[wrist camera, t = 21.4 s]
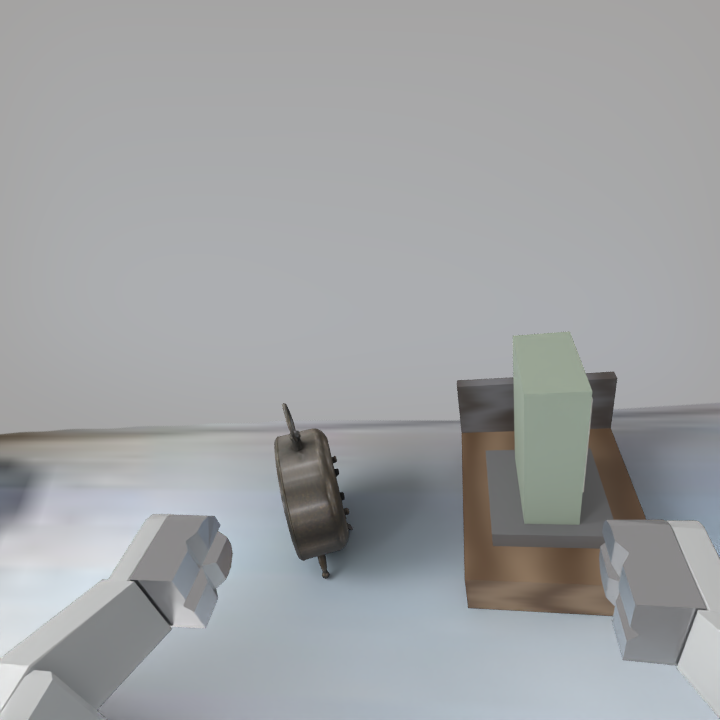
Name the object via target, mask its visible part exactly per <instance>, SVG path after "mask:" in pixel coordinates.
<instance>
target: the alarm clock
mask: <svg viewBox="0 0 720 720" xmlns="http://www.w3.org/2000/svg"><path fill="white" fill-rule="evenodd" d="M282 406H283V411H284V414H285V418H286V422H287V425H288V428H289V430H290V434H288V435H284V436H280V437H277V438H276V440H275V443H274V445H275V446H274V448H275V460H276V468H277V475H278V481H279V487H280V493H281V498H282V502H283V507H284V512H285V516H286V520H287V524H288V527H289V532H290V535H291V538H292V542H293V545H294V547H295V550H296V553H297V555H298V557H299V559H301V560H303V561H304V560H306V559H309V558H313V557H316V556H318V560H319V564H320V566H321V569H322V571H323V573H322V577H323V578H325V579H326V578H328V577H329V572H328V571H327V564H326V557H325V554H328V553H331V552H335V551H339V550H341V549H343V548H344V547H345V545H346V544H347V541H348V538H349V531H348V529H349V530H353V528H352V526H351V525H350V524H348V523H347V521H346V516H345V515H348V514H349V509H348V508H345V509H343V505H342V500H344V499H345V497H344V493H343V492H339V487H338V483H337V479H336V477H337V476H338V475H339V470H338V469H334V466H333V463H335V462H337V459H336V456H334V457H331V453H330V449H329V444H328V440H327V437H326V436H325V434H324V433H323V432H322V431H320V430H318V429H309V430H305V431H300V432H299V431H296V430H295V426H294V422H293V419H292V417H291V414H290V411H289V409H288V407H287V405H286V404H284V403H283V405H282Z"/></svg>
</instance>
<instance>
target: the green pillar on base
mask: <svg viewBox="0 0 720 720" xmlns="http://www.w3.org/2000/svg"><path fill="white" fill-rule="evenodd" d="M513 379H514V435H515V450H488V451H486V463H487V476H488V489H489V502H490V515H491V528H492V541H493V546H513V547H553V548H593V549H600V546H601V545H603V544H604V543H605V540H604V537H603V533H602V529H603V523H604V522H605V520H614V519H613V516H612V513H611V510H610V507H609V504H608V501H607V498H606V495H605V491H604V488H603V485H602V482H601V479H600V476H599V473H598V470H597V467H596V464H595V461H594V458H593V454H592V451H591V448H588V444H589V434H590V423H591V413H592V403H593V398H592V389H591V386H590V384H589V381H588V378H587V376H586V373H585V370H584V368H583V365H582V363H581V360H580V357H579V355H578V352H577V349H576V347H575V344H574V341H573V339H572V336H571V334H570V332H560V333H547V334H534V335H533V334H532V335H519V336H513Z"/></svg>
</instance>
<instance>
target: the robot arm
mask: <svg viewBox="0 0 720 720" xmlns="http://www.w3.org/2000/svg"><path fill="white" fill-rule="evenodd" d="M219 527H220V524H219V522H218V520H217V519H216V517H215V516H199V515H174V514H152V515H151V516H150V517H149V518H147V519H146V520H145V522H144V523H143V525H142V526H141V528H140V529H139V531H138V533H137V534H136V536H135V537H134V539H133V541H132V542H131V544H130V545H129V547H128V549H127V550H126V552H125V553H124V555H123V556H122V558H121V560H120V561H119V563H118V564H117V566H116V568H115V569H114V571H113V572H112V574H111V576H110V577H109V579H102V580H101V581H100V582H98V583H97V584H96V585H95V586H93V587H92V588H91V589H89V590H88V591H87V592H85V593H84V594H83V595H82V596H80V597H79V598H78V599H76V600H75V601H74V602H72V603H71V604H70V605H69V606H67V607H66V608H65V609H63V610H62V611H61V612H59V613H58V614H57V615H56V616H54V617H53V618H52V619H50V620H49V621H48V622H47V623H45V624H44V625H43V626H41V627H40V628H39V629H37V630H36V631H35V632H34V633H32V634H31V635H30V636H28V637H27V638H26V639H24V640H23V641H22V642H21V643H19V644H18V645H17V646H15V647H14V648H13V649H11V650H10V651H9V652H8V653H6V654H5V655H4V656H2V657H1V658H0V720H107V719H106V718H105V717H104V716H103V715H101V714H100V713H99V712H98V711H97V710H98V708H99V707H100V706H101V705H102V704H103V703H104V702H105V701H106V700H107V699H108V698H109V697H110V696H111V694H112V693H113V692H114V691H115V690H116V689H117V688H118V687H119V686H120V685H121V684H122V683H123V681H124V680H125V679H126V678H127V677H128V676H129V675H130V674H131V673H132V672H133V671H134V670H135V668H136V667H137V666H138V665H139V664H140V663H141V662H142V661H143V660H144V659H145V658H146V657H147V656H148V654H149V653H150V652H151V651H152V650H153V649H154V648H155V647H156V646H157V645H158V644H159V643H160V641H161V640H162V639H163V638H164V637H165V636H166V635H167V634H168V633H169V632H170V631H171V630H172V628H171V627H186V628H206V627H207V624H208V622H209V619H210V617H211V615H212V612H213V610H214V607H215V605H216V603H217V600H218V595H217V591H216V588H217V587H218V586H219V585H220V584H221V583H223V582H224V581H225V580H226V578H227V576H228V573H229V570H230V568H231V562H232V554H233V553H232V548H231V543H230V542H229V540H228V538H227V537H226V536H225V535H223V534H222V533H220V532H219V531H218V529H219ZM602 533H603V537H604V540H605V543H604V544H603V545H601V546H600V553H599V563H600V574H601V579H602V584H603V588H604V592H605V596H606V598H607V599H608V600H609V601H610V602H611V603H612V604H613V605H614V606H615V608H614V614H613V620H612V622H613V626H614V630H615V633H616V637H617V641H618V644H619V648H620V652H621V655H622V659H623V660H627V661H637V662H647V663H657V664H667V665H677V669H678V670H679V671H680V673H681V674H682V675H683V676H684V677H685V679H686V680H687V681H688V682H689V683H690V684H691V686H692V687H693V688H694V689H695V690H696V691H697V693H698V694H699V695H700V696H701V697H702V698H703V700H704V701H705V702H706V703H707V704H708V705H709V707H710V708H711V709H712V710H713V711H714V712H715V714H716V715H717V716H718V717H719V718H720V557H719V555H718V553H717V552H716V550H715V548H714V546H713V544H712V542H711V540H710V538H709V536H708V534H707V532H706V530H705V528H704V526H703V525H702V524H701V523H700V522H699V521H694V520H686V521H664V520H605V522H604V523H603V529H602Z"/></svg>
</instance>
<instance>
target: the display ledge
mask: <svg viewBox="0 0 720 720" xmlns="http://www.w3.org/2000/svg"><path fill="white" fill-rule="evenodd" d="M586 376H587V378H588V381H589V384H590V386H591V389H592V398H593V403H592V413H591V423H590V434H589V444H588V448H591V451H592V454H593V458H594V461H595V464H596V467H597V470H598V473H599V476H600V479H601V482H602V485H603V488H604V491H605V495H606V498H607V501H608V504H609V507H610V510H611V513H612V516H613V519H614V520H646V518H645V515H644V512H643V510H642V507H641V505H640V502H639V500H638V497H637V495H636V492H635V489H634V487H633V484H632V482H631V479H630V477H629V474H628V471H627V469H626V466H625V464H624V461H623V459H622V456H621V454H620V451H619V448H618V446H617V443H616V441H615V438H614V436H613V433H612V431H611V422H612V414H613V406H614V398H615V391H616V383H617V377H616V375H615V373H614V372H601V373H586ZM457 391H458V401H459V411H460V421H461V431H462V472H463V518H464V565H465V585H466V593H467V601H468V608H479V609H497V610H515V611H533V612H551V613H569V614H587V615H605V616H613V614H614V608H615V606H614V605H613V604H612V603H611V602H610V601H609V600H608V599H607V598H606V596H605V592H604V588H603V584H602V579H601V574H600V563H599V553H600V549H593V548H553V547H513V546H493V541H492V528H491V515H490V502H489V489H488V476H487V463H486V451H488V450H515V435H514V379H513V378H494V379H477V380H458V381H457Z"/></svg>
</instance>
